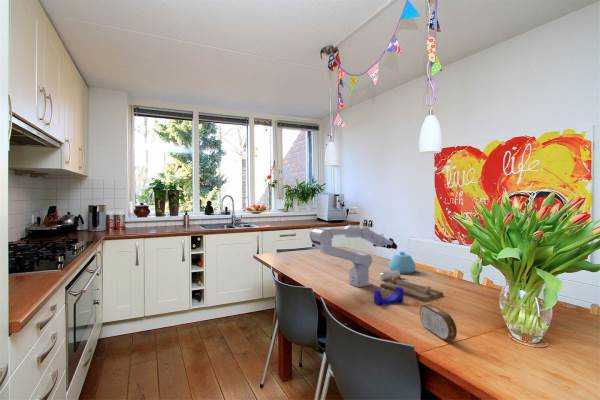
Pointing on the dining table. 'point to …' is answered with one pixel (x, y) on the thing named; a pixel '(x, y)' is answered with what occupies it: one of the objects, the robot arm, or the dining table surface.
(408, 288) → the peg rack
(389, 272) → the silver cylinder
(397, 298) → the cable clip
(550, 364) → the dining table surface
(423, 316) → the speaker
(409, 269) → the sugar bowl
